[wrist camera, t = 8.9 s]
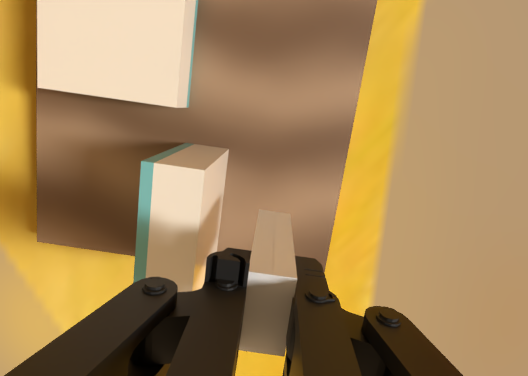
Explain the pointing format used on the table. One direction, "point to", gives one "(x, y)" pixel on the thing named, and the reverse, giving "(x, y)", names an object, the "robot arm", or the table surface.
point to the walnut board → (218, 127)
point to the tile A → (118, 48)
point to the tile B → (179, 213)
